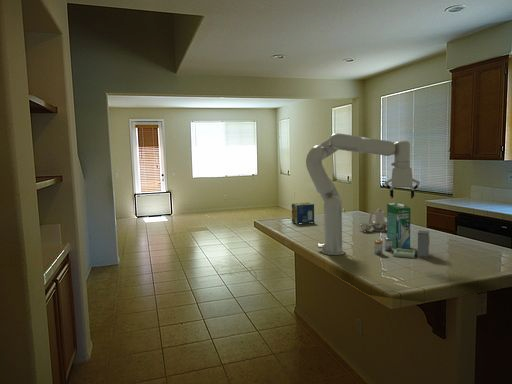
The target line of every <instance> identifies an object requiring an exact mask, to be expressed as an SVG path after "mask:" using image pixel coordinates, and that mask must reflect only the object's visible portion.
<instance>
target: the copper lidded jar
mask: <svg viewBox="0 0 512 384" xmlns="http://www.w3.org/2000/svg"><path fill="white" fill-rule="evenodd" d="M383 244H384V242H383V240H381V239H375V240H374V255H378V256H379V255H380V256H381V255H383Z"/></svg>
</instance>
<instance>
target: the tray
mask: <svg viewBox="0 0 512 384" xmlns="http://www.w3.org/2000/svg"><path fill="white" fill-rule="evenodd" d="M416 254H417V253H416V249H409V248H401V249H399V248H396V249H395V248H394V251H393V257H397V258H409V259H414V258H415V257H416Z"/></svg>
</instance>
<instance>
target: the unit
mask: <svg viewBox="0 0 512 384" xmlns="http://www.w3.org/2000/svg"><path fill="white" fill-rule="evenodd" d="M430 246H431V236H430V231H429V230H418V231H417V258H422V259H423V258H424V259H429V256H430Z"/></svg>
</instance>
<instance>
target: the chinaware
mask: <svg viewBox="0 0 512 384" xmlns="http://www.w3.org/2000/svg"><path fill="white" fill-rule="evenodd" d="M368 212H369V218H368V222H364V223H359V225H358V229H359V230H361V231H362V232H363V231H368V232H369V231H370V230H371V229H372V230H373V231H374V230H375V231H374V232H386V231H387V220H385V217H384V215H385V216H387V211H386V212H385V211H384V210H382V209H381V207H378V209H377V210H374V214H375V215H374V221H373V212H372V211H370V210H369V211H368ZM385 230H386V231H385Z"/></svg>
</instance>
